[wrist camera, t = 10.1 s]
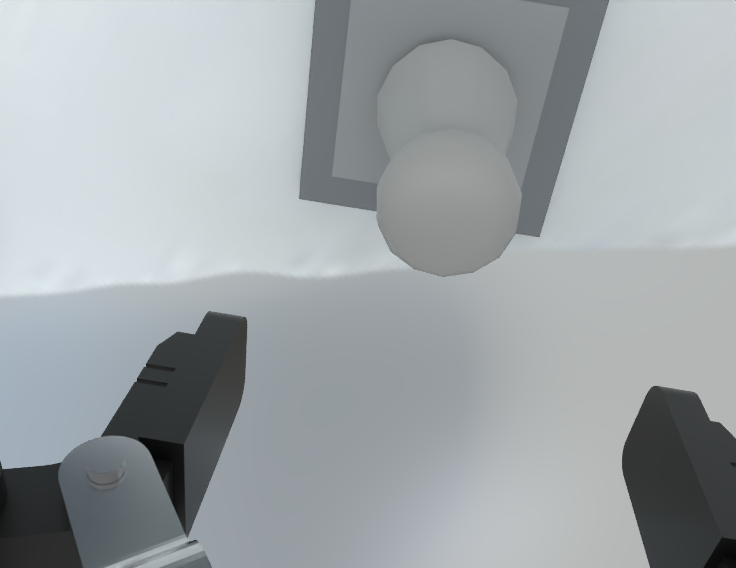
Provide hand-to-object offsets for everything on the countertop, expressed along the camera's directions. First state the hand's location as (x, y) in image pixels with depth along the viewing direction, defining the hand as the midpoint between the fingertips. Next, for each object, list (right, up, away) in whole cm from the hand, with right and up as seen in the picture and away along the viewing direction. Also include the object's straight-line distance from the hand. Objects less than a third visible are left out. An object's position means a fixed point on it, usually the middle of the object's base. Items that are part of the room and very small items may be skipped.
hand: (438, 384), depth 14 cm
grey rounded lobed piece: (+2, +10, +17) cm, 20 cm away
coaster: (+2, +11, +18) cm, 21 cm away
